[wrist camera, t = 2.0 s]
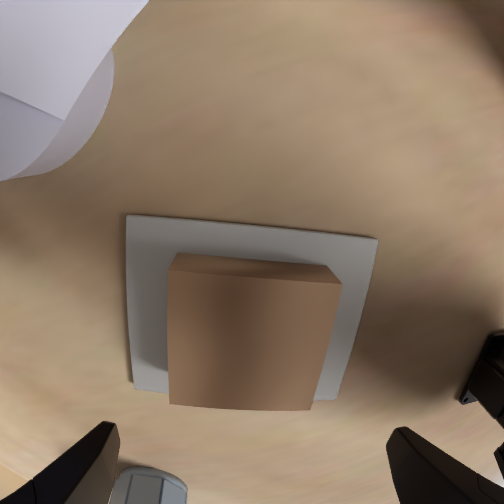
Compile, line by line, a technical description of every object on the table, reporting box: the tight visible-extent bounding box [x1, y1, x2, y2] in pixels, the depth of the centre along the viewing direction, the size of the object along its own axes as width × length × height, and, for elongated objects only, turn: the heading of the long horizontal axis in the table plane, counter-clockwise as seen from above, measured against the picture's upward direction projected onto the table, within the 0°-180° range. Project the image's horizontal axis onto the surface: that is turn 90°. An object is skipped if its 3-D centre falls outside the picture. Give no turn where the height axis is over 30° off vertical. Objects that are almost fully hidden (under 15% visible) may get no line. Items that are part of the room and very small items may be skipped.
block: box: [167, 253, 343, 411], centre depth 15 cm, size 7×7×2 cm
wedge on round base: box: [0, 0, 149, 181], centre depth 8 cm, size 9×7×13 cm
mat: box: [126, 215, 379, 400], centre depth 16 cm, size 12×10×1 cm
